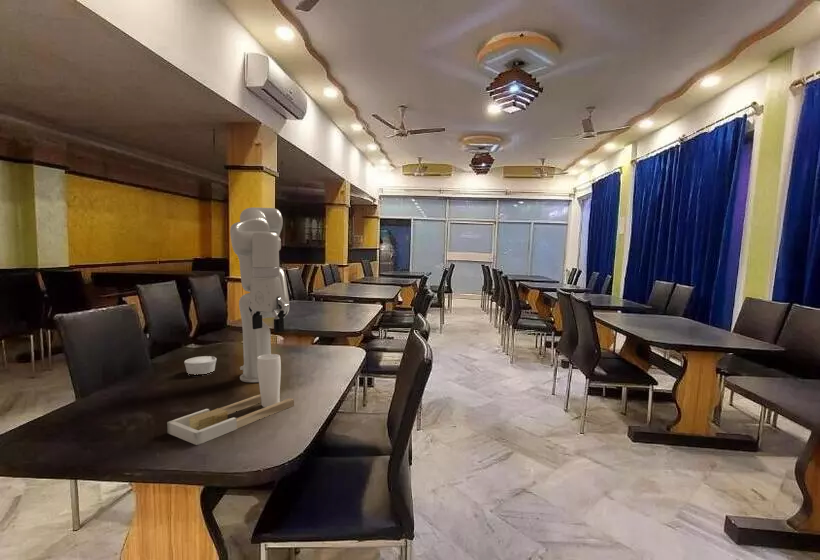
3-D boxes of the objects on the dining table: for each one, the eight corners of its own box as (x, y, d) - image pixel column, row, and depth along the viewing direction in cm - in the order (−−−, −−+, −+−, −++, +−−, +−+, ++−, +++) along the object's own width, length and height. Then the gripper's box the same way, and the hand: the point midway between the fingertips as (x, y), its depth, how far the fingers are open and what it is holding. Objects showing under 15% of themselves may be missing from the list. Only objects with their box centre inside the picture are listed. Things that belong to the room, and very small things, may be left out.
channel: (208, 419, 121) (207, 412, 121) (266, 398, 138) (266, 392, 138) (236, 429, 114) (235, 421, 114) (294, 405, 131) (293, 399, 131)
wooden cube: (205, 427, 116) (204, 413, 116) (218, 422, 119) (217, 408, 119) (214, 430, 114) (214, 415, 114) (227, 425, 117) (227, 410, 117)
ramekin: (219, 373, 166) (218, 360, 166) (187, 379, 160) (186, 364, 160) (214, 367, 176) (213, 354, 175) (183, 372, 169) (182, 358, 169)
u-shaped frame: (167, 433, 112) (167, 421, 112) (207, 419, 121) (206, 408, 121) (197, 445, 105) (196, 433, 105) (236, 429, 114) (236, 418, 114)
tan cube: (190, 432, 113) (189, 417, 112) (204, 427, 116) (203, 412, 116) (199, 436, 111) (198, 420, 110) (213, 430, 114) (212, 415, 114)
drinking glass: (286, 402, 134) (285, 354, 133) (273, 410, 128) (271, 360, 126) (268, 400, 136) (266, 353, 135) (254, 407, 130) (252, 358, 129)
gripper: (237, 273, 130) (239, 329, 132) (275, 275, 121) (277, 335, 122) (257, 271, 137) (259, 325, 138) (296, 273, 127) (297, 331, 129)
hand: (268, 330), depth 130 cm, fingers open, 9 cm apart
